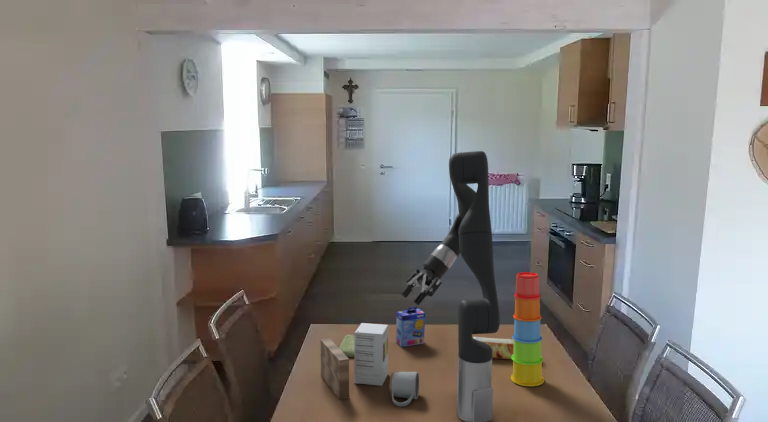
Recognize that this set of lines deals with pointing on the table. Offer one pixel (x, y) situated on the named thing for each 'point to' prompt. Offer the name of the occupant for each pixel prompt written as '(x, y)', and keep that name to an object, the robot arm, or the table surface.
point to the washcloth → (347, 345)
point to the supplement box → (371, 354)
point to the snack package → (499, 347)
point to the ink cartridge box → (410, 327)
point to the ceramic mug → (404, 386)
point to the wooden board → (335, 368)
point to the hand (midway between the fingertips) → (409, 299)
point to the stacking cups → (527, 332)
